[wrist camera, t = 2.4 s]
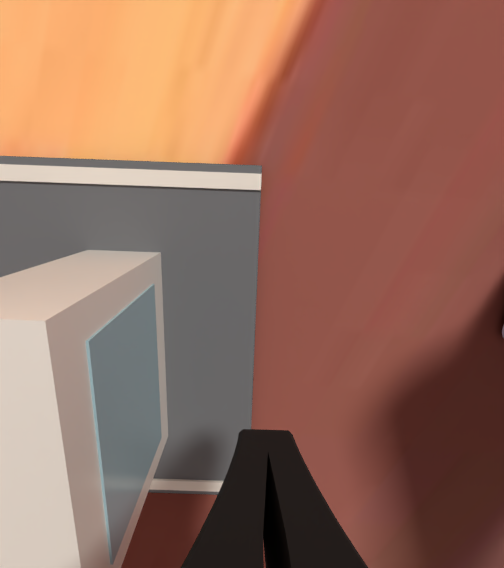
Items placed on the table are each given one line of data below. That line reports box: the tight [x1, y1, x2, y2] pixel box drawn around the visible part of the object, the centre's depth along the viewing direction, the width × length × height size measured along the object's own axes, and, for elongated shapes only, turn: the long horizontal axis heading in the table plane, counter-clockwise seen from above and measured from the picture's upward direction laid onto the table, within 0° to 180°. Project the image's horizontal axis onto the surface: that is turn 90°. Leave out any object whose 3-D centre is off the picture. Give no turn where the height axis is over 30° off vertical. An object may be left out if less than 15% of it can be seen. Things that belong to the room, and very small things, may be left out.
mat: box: [0, 156, 262, 495], centre depth 14 cm, size 20×16×1 cm
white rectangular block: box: [0, 250, 168, 568], centre depth 11 cm, size 3×9×8 cm, turn 178°
